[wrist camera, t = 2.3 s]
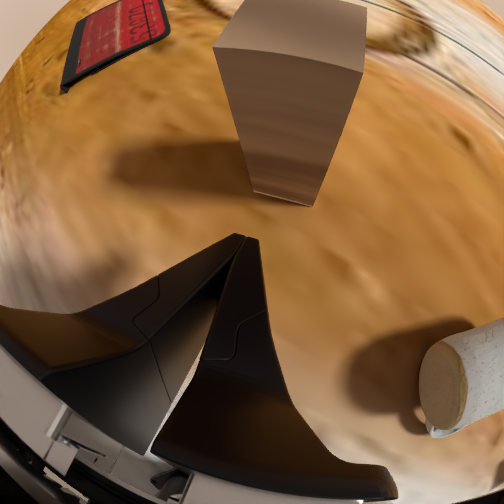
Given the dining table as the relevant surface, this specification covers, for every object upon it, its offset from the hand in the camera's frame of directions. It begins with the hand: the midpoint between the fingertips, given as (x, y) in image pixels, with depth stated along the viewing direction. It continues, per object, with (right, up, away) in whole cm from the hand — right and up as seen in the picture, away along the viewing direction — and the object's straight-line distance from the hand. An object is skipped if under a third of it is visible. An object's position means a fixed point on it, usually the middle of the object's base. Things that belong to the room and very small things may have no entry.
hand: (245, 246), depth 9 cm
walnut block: (+3, +6, +11) cm, 13 cm away
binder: (-20, +33, +17) cm, 42 cm away
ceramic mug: (+18, -11, +8) cm, 22 cm away
